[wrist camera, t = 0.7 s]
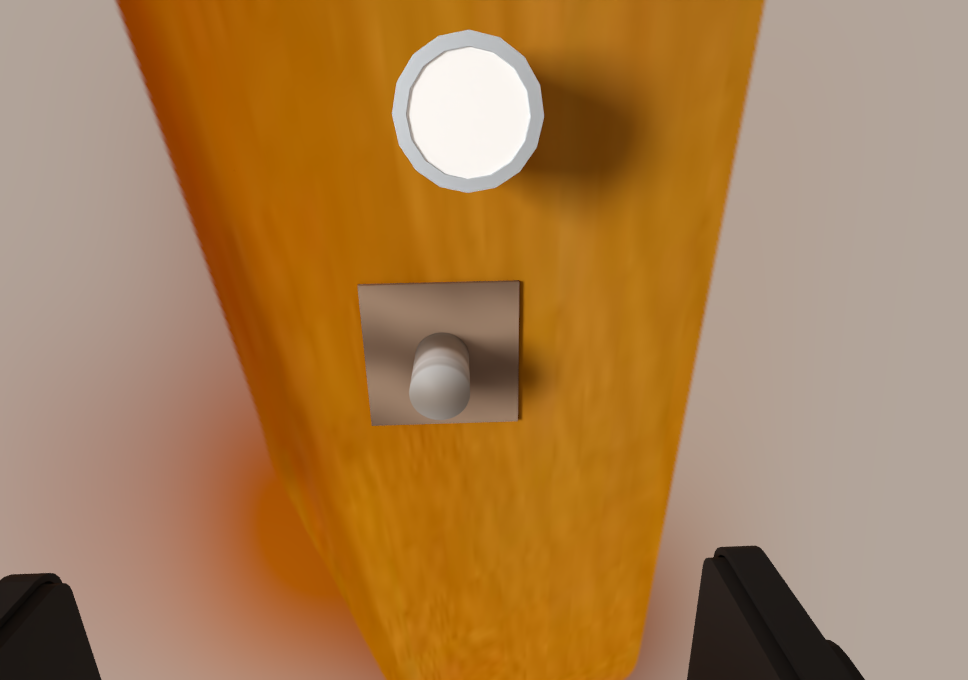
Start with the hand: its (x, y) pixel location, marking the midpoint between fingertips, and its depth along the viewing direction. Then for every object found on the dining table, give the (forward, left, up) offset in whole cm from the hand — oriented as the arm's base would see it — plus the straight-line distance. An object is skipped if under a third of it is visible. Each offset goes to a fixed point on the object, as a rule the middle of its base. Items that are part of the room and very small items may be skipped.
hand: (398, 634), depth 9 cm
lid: (+9, 0, -29) cm, 31 cm away
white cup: (-6, +2, -29) cm, 30 cm away
